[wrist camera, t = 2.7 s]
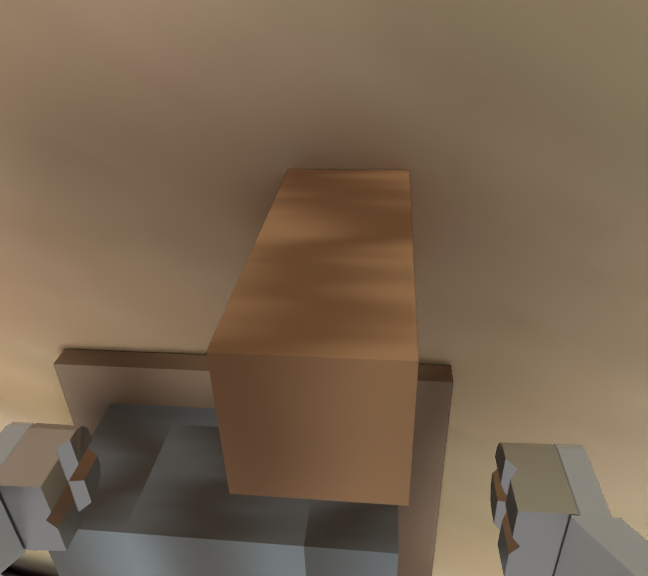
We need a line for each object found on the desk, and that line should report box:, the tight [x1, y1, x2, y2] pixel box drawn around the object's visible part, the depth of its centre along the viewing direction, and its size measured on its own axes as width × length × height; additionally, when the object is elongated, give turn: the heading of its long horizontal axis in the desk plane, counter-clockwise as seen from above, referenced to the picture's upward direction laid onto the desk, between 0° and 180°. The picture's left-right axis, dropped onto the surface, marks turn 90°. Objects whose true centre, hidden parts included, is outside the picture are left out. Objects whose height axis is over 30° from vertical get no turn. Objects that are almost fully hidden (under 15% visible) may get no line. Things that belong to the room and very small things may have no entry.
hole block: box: [48, 349, 453, 576], centre depth 25 cm, size 16×16×7 cm
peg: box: [206, 169, 419, 506], centre depth 16 cm, size 4×4×10 cm
